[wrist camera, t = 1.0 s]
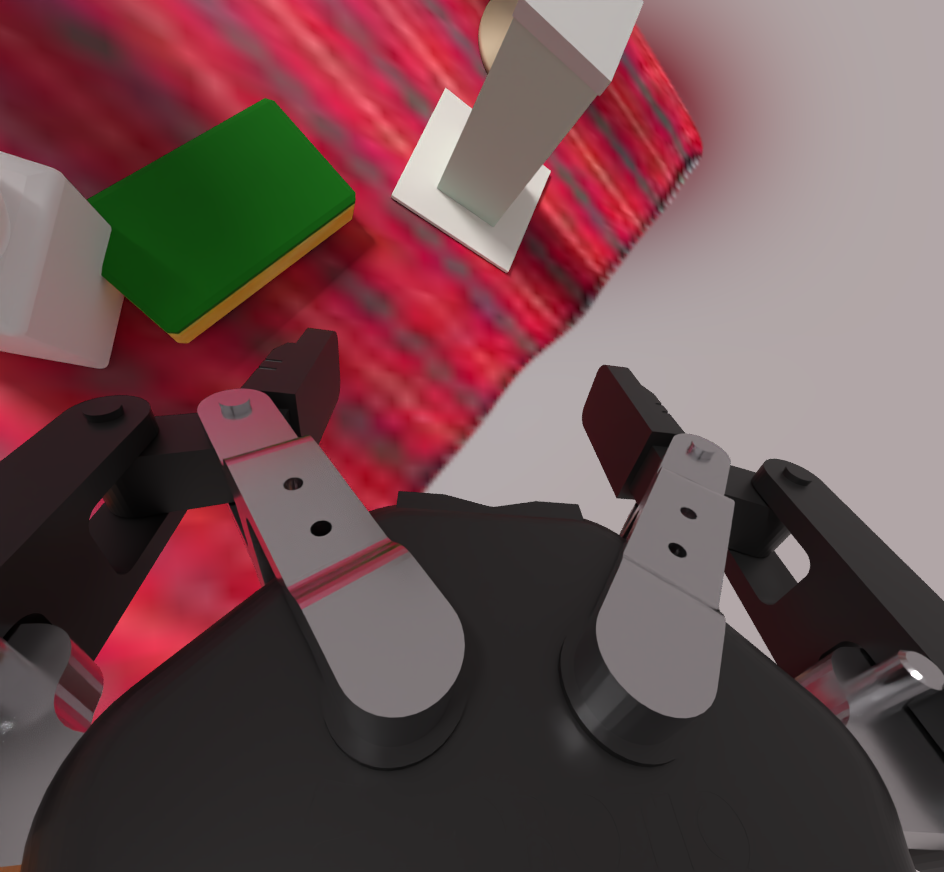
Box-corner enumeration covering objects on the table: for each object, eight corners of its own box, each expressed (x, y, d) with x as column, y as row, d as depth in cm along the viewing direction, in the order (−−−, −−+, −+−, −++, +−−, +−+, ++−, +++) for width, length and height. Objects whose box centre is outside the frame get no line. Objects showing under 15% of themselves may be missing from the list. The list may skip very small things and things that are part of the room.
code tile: (390, 197, 28) (391, 194, 28) (444, 91, 30) (445, 87, 29) (506, 273, 31) (508, 271, 31) (548, 173, 33) (551, 171, 33)
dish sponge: (69, 248, 21) (41, 222, 19) (272, 126, 25) (269, 93, 23) (183, 348, 23) (170, 335, 20) (355, 218, 27) (359, 196, 25)
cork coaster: (459, 61, 30) (461, 54, 30) (505, -29, 32) (508, -38, 31) (560, 145, 33) (564, 140, 33) (597, 58, 35) (601, 52, 35)
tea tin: (434, 188, 29) (520, -4, 17) (461, 133, 30) (560, -87, 17) (493, 229, 30) (611, 81, 18) (517, 175, 31) (643, 2, 19)
